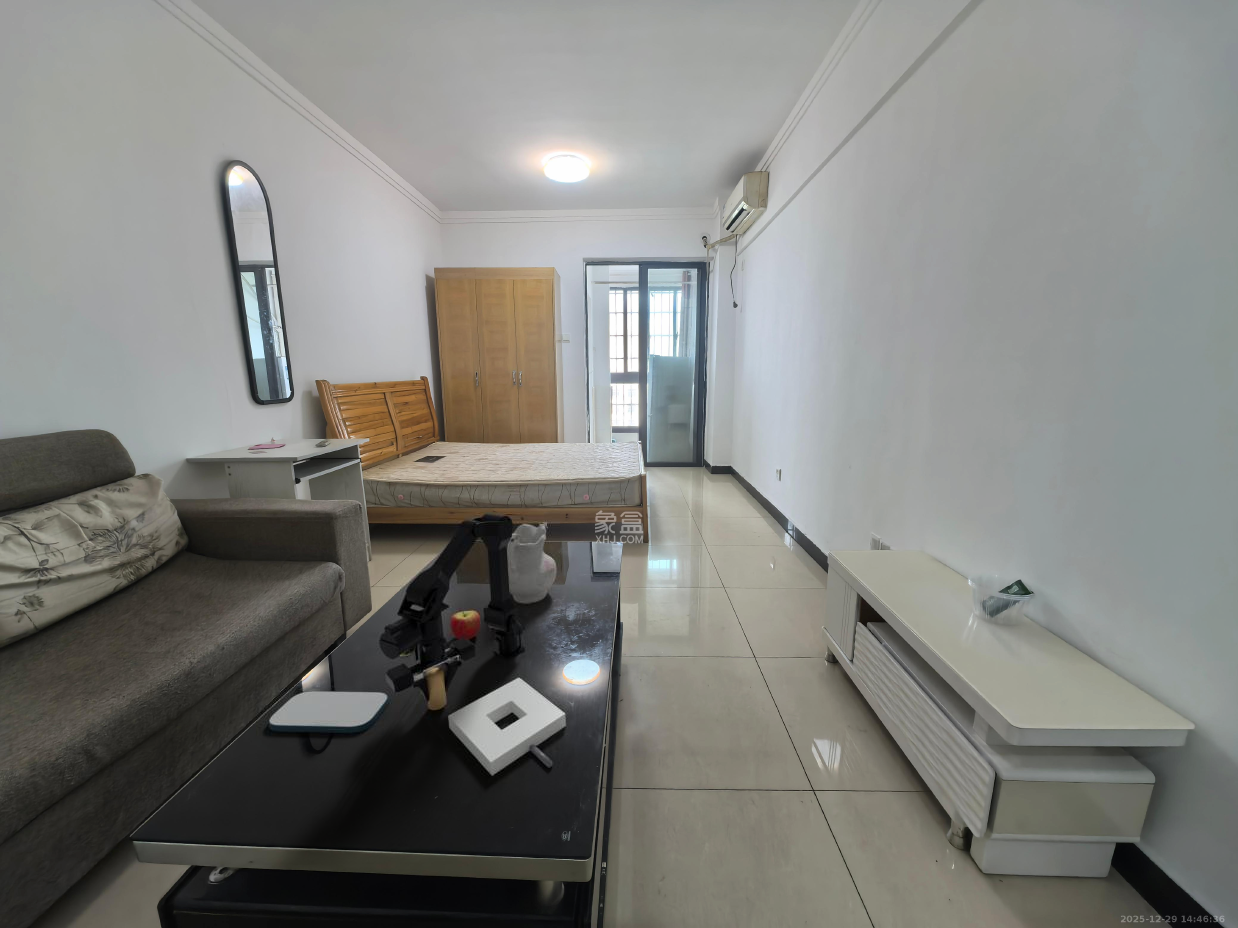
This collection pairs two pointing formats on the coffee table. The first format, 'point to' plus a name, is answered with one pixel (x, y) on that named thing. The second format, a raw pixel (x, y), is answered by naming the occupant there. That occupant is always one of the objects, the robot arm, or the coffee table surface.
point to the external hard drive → (329, 712)
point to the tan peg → (436, 688)
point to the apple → (465, 624)
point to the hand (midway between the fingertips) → (436, 695)
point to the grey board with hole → (517, 738)
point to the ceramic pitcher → (529, 564)
